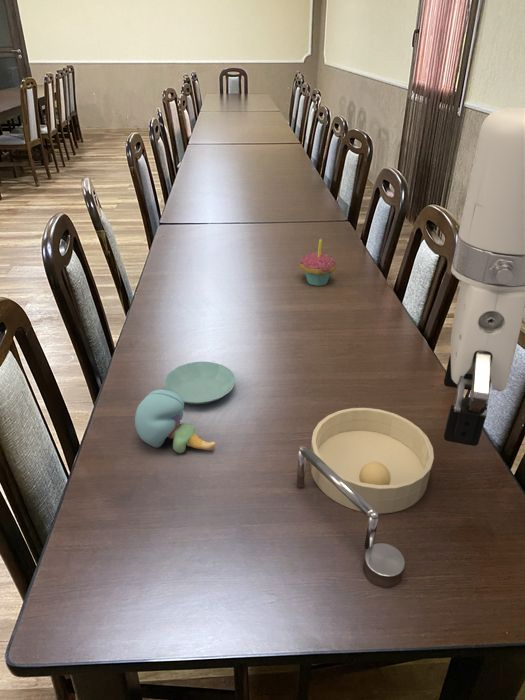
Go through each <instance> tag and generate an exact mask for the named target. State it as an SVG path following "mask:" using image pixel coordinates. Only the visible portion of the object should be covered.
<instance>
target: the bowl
mask: <svg viewBox="0 0 525 700" xmlns="http://www.w3.org/2000/svg"><path fill="white" fill-rule="evenodd" d="M310 450H311V451H312V452H313V453H315V454H316V455H317V456H318V457H319V458H320V459H321V460H322V461H323V462H324V463H325V464H326V465H328V466H329V467H330V468H331V469H332V470H333V471H334V472H335V473H336V474H337V475H338V476H340V477H341V478H342V479H343V480H344V481H345V482H346V483H347V484H348V485H349V486H350V487H351V488H353V489H354V490H355V491H356V492H357V493H358V494H359V495H360V496H361V497H362V498H363V499H365V500H366V501H367V502H368V503H369V504H370V505H371V506H372V507H373V508H374V509H375V510H376V512H377V513H378V515H381V514H393V513H398V512H401V511H403V510H406V509H408V508H410V507H412V506H414V505H415V504H417V503H418V502H419V501H420V500H421V499H422V497H423V496H424V494H425V493H426V491H427V489H428V485H429V481H430V478H431V474H432V470H433V465H434V461H435V455H434V447H433V445H432V443H431V441H430V439H429V437H428V436H427V434H425V432H424V431H423V430H422V429H421V428H420V427H419V426H417V425H416V424H415V423H413V422H412V421H410V420H409V419H407V418H405V417H403V416H400V415H399V414H396V413H395V412H391V411H387V410H383V409H379V408H373V407H350V408H346V409H341V410H338V411H335V412H333V413H331V414H329V415H326V416H325V417H324V418H322V419H321V420H320V421H319V422H318V423H317V425H316V426H315V428H314V430H313V431H312V435H311V442H310ZM369 462H379V463H382V464H383V465H385V466H386V467H387V469H388V470H389V472H390V477H391V479H390V484H389V485H374V484H367V483H361V482H360V479H359V474H360V471H361V469H362V467H363V466H364V465H365V464H367V463H369ZM309 466H310V468H309V469H310V474H311V476H312V479H313V480H314V482H315V484H316V486H317V487H318V488H319V489H320V490H321V492H323V494H325V496H327V497H328V498H330V499H331V500H332V501H334V502H336V503H338V504H339V505H341V506H343V507H346V508H348V509H350V510H354V511H357V512H361V513H363V512H362V511H361V510H360V509H359V508H358V507H357V506H355V505H354V504H353V503H352V502H351V501H350V500H349V499H348V498H347V497H346V496H345V495H344V494H343V493H342V492H341V491H340V490H339V489H338V488H336V487H335V486H334V485H333V484H332V483H331V482H330V481H329V480H328V479H327V478H326V477H325V476H324V475H323V474H322V473H321V472H320V471H319V470H317V469H316V468H315V467H314V466H313V465H312V464H311V463H310V462H309Z"/></svg>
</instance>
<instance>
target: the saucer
mask: <svg viewBox="0 0 525 700" xmlns="http://www.w3.org/2000/svg"><path fill="white" fill-rule="evenodd" d="M235 384H236V376H235V374H234V373H233V371H232V370H231V369H230V368H228V367H227V366H225V365H223V364H220V363H217V362H211V361H193V362H188V363H185V364H182V365H180V366H177V367H176V368H174V369H172V370H171V371H170V372H169V373H168V374H167V375H166V376H165V378H164V380H163V388H164V390H169V391H172V392H175V393H177V394H178V395H180V396H181V397H182V399H183V401H184V404H190V405H204V404H205V405H206V404H209V403H213V402H215V401H216V402H217V401H218V400H220V399H221V398H223V397H225V396H226V395H227V394H229V393H230V392H231V391H232V390H233V388H234V386H235Z"/></svg>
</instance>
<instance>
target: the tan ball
mask: <svg viewBox="0 0 525 700" xmlns="http://www.w3.org/2000/svg"><path fill="white" fill-rule="evenodd" d="M359 479H360V482H361V483H367V484H374V485H389V484H390V479H391V477H390V472H389V470H388V469H387V467H386V466H385V465H383V464H382V463H379V462H369V463H367V464H365V465H364V466H363V467H362V469H361V471H360V474H359Z"/></svg>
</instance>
